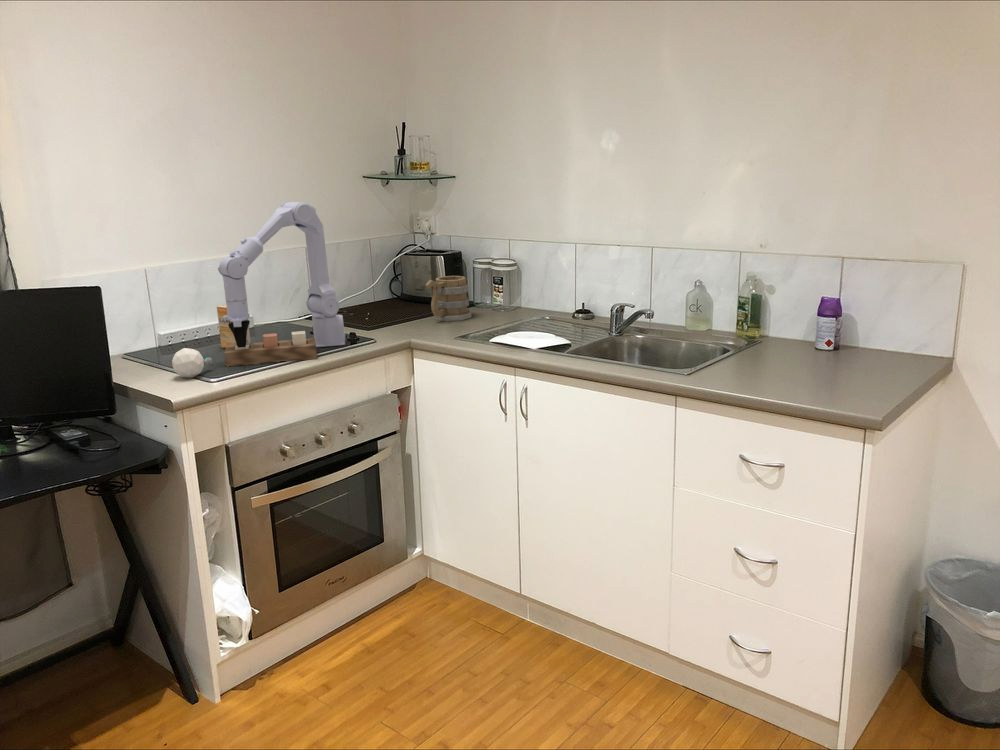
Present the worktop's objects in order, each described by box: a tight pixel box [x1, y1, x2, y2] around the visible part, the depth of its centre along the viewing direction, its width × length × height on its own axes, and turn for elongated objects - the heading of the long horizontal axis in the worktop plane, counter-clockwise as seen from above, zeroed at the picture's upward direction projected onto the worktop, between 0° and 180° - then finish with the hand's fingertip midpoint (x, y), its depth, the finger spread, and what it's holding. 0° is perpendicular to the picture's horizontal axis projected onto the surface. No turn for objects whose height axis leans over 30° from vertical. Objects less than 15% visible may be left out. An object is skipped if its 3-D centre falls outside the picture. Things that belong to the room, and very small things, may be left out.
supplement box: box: [216, 303, 251, 349], centre depth 247 cm, size 8×5×13 cm, turn 62°
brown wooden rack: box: [224, 337, 318, 368], centre depth 233 cm, size 25×10×4 cm, turn 104°
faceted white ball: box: [171, 347, 213, 379], centre depth 218 cm, size 8×8×12 cm
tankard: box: [425, 275, 472, 322], centre depth 279 cm, size 20×13×15 cm, turn 144°
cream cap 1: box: [235, 345, 250, 350], centre depth 231 cm, size 4×4×4 cm
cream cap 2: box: [291, 330, 307, 345], centre depth 234 cm, size 4×4×4 cm
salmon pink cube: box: [262, 332, 279, 348], centre depth 233 cm, size 4×4×4 cm
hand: (241, 347), depth 231 cm, fingers closed, pressing on cream cap 1
